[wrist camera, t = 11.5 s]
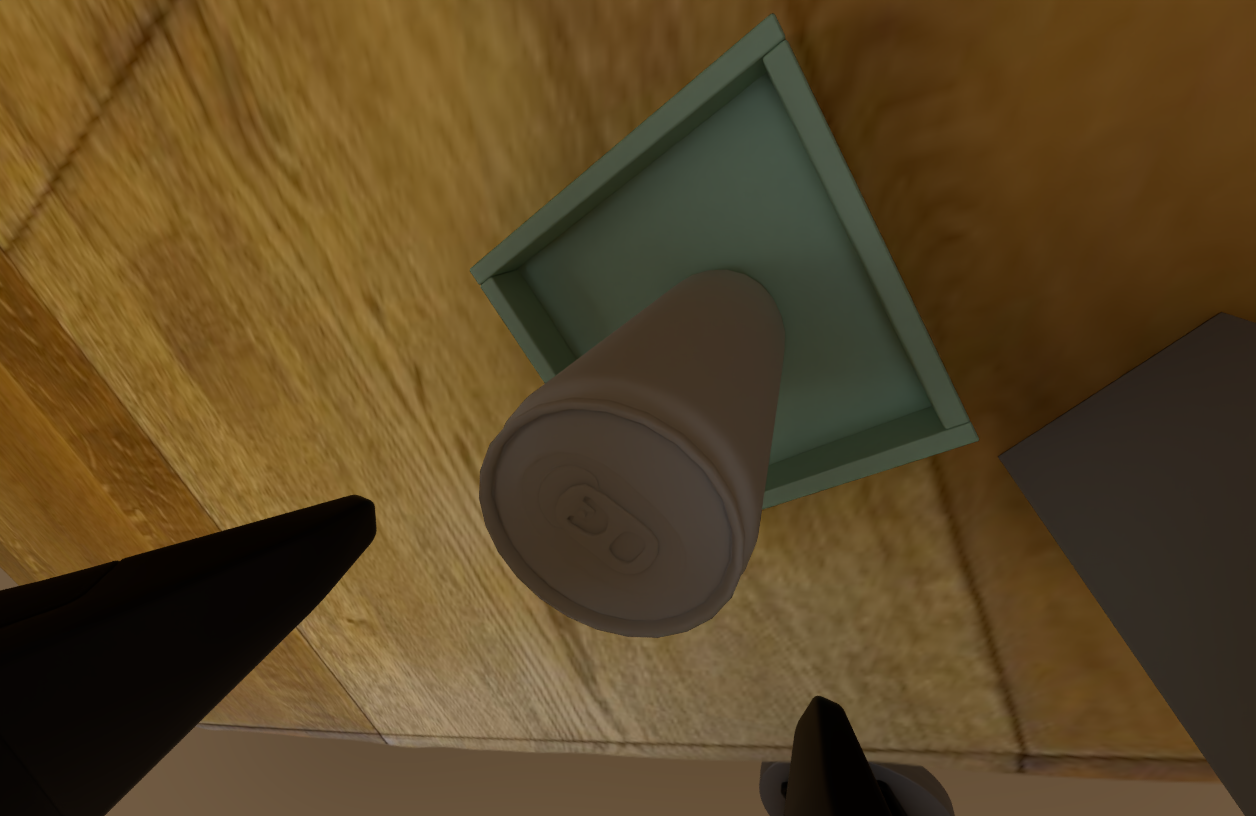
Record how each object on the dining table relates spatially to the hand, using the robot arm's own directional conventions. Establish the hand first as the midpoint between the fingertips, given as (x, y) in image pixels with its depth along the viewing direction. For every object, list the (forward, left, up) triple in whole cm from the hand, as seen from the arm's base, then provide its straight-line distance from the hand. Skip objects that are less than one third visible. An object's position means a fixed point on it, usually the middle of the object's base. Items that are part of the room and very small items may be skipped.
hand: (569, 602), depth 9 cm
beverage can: (+1, -2, -12) cm, 12 cm away
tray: (+2, -1, -12) cm, 13 cm away
